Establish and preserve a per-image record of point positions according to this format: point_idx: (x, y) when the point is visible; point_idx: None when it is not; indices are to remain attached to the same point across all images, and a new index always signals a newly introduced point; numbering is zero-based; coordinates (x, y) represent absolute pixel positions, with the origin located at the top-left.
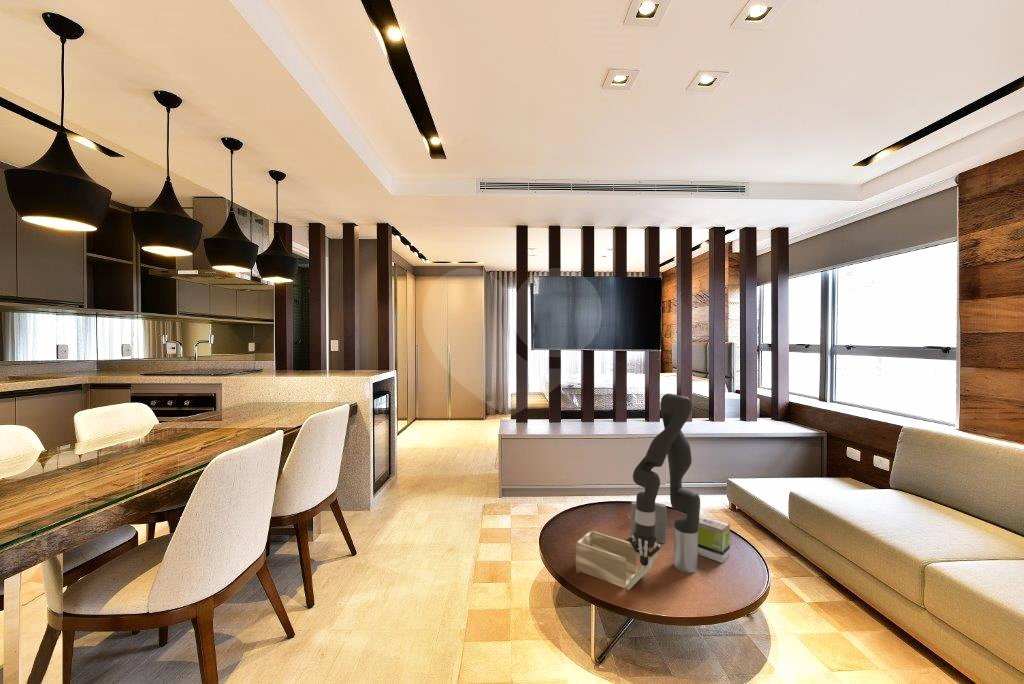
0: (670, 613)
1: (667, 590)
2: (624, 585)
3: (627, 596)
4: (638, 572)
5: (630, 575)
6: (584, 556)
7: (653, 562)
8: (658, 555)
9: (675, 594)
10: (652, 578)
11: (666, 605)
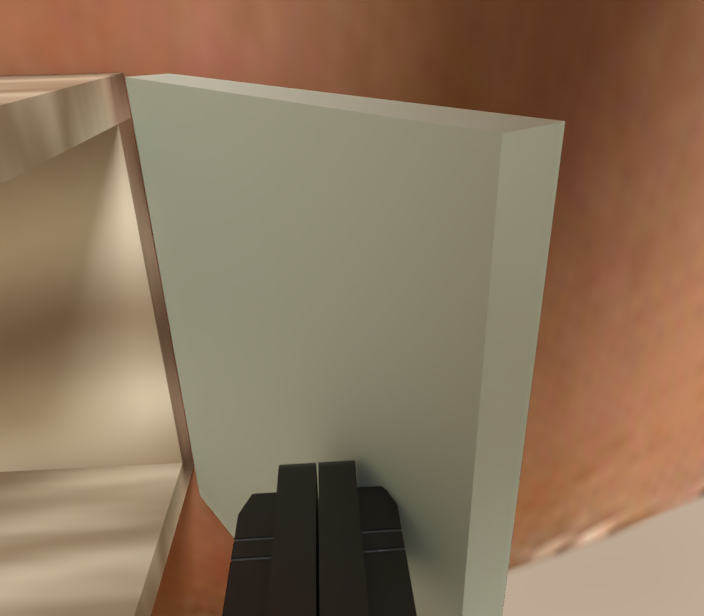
0: (639, 492)
1: (568, 180)
2: (178, 510)
3: None
4: (193, 268)
5: (94, 237)
6: None
7: (512, 509)
8: (561, 122)
9: (664, 199)
10: (332, 26)
11: (595, 423)
